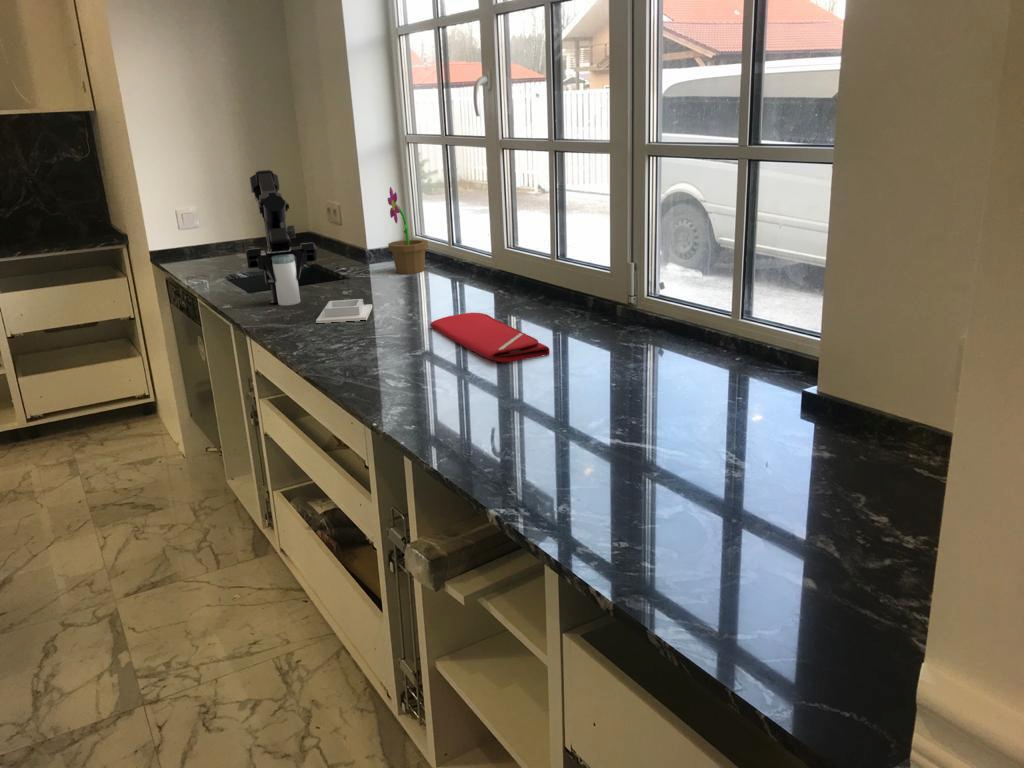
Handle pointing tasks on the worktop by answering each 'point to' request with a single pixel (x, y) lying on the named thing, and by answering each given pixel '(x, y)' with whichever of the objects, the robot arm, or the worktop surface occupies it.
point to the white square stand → (344, 311)
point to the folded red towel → (489, 337)
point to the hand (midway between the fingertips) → (286, 280)
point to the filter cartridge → (286, 279)
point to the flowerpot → (406, 245)
